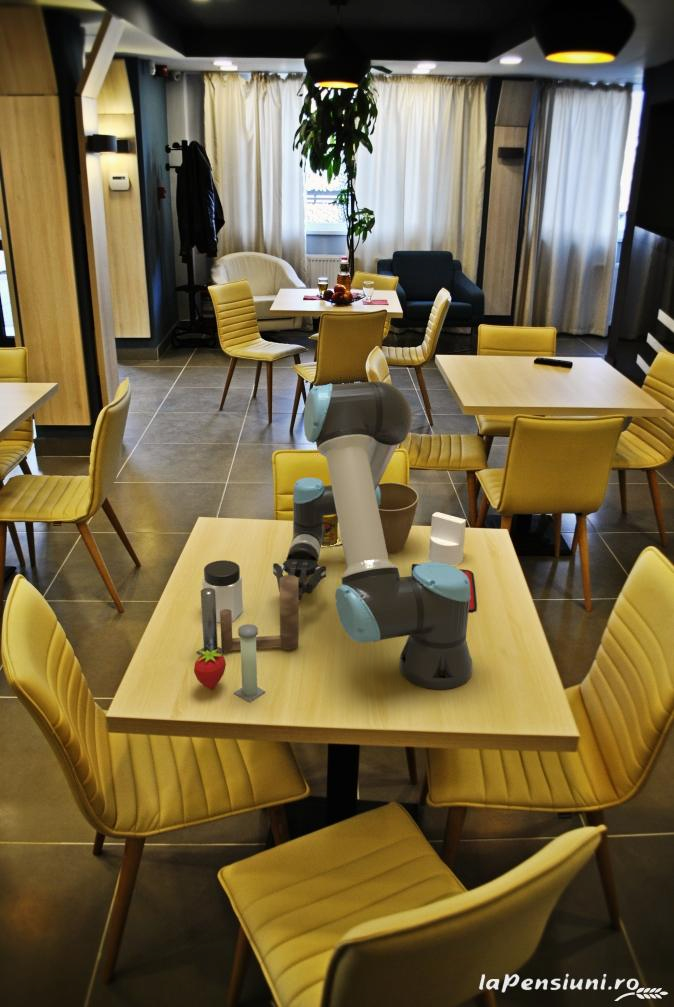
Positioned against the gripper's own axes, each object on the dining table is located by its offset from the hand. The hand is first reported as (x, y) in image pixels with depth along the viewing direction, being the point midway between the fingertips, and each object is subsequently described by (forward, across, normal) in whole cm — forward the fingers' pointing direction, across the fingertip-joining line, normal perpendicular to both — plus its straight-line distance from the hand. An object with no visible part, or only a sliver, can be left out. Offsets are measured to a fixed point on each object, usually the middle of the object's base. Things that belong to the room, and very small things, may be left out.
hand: (290, 604), depth 185 cm
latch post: (+21, +6, -8) cm, 23 cm away
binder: (-26, -35, -9) cm, 44 cm away
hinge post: (+8, +16, -8) cm, 20 cm away
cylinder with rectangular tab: (-43, -36, -9) cm, 57 cm away
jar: (-9, +17, -9) cm, 21 cm away
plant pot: (-48, -21, -9) cm, 53 cm away
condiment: (-51, -3, -9) cm, 52 cm away
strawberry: (+21, +13, -9) cm, 26 cm away
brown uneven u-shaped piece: (+5, +6, -8) cm, 11 cm away
